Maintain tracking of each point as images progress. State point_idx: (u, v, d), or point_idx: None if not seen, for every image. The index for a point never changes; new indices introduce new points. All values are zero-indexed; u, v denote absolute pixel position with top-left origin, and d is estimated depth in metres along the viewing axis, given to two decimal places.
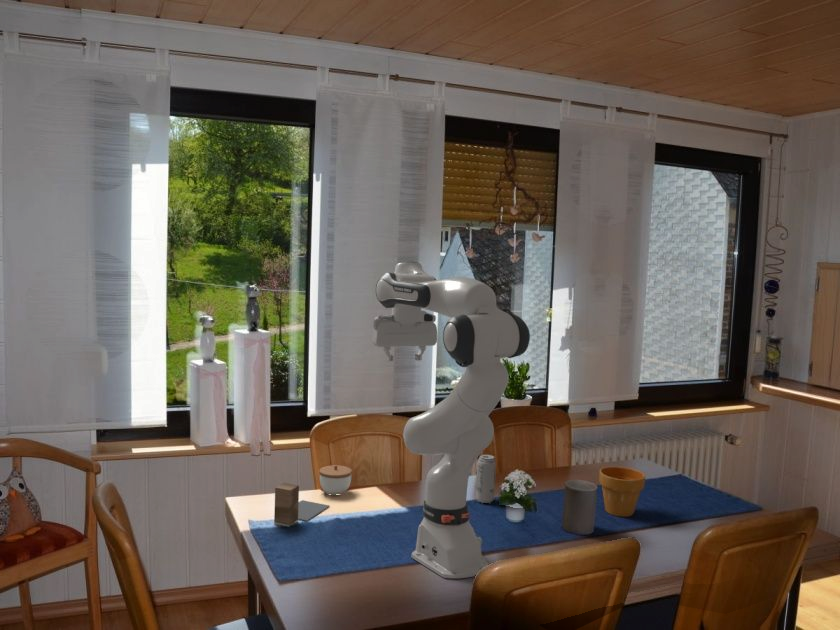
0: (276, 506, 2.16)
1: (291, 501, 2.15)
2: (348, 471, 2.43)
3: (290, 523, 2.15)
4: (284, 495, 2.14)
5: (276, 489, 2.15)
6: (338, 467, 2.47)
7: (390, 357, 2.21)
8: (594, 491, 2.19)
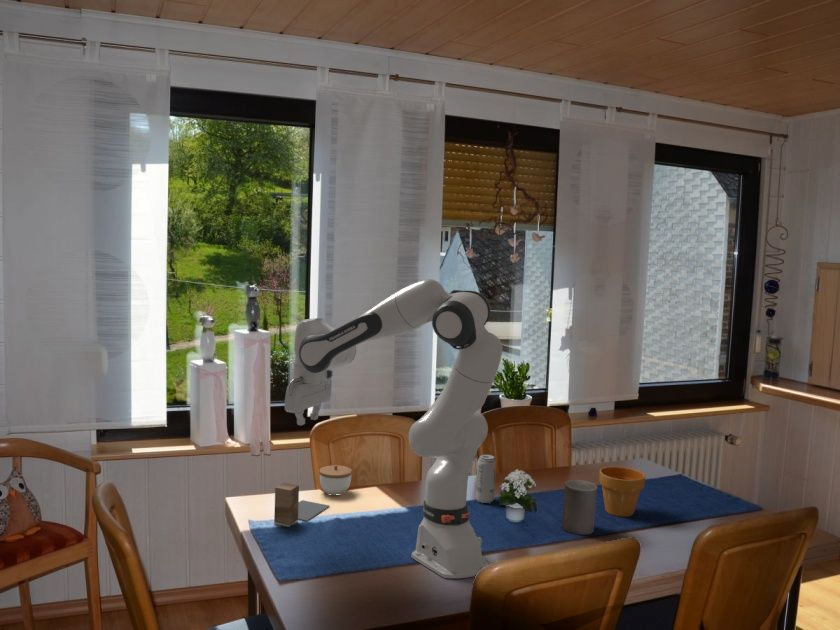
0: (276, 506, 2.16)
1: (291, 501, 2.15)
2: (348, 471, 2.43)
3: (290, 523, 2.15)
4: (284, 495, 2.14)
5: (276, 489, 2.15)
6: (338, 467, 2.47)
7: (303, 420, 2.08)
8: (594, 491, 2.19)
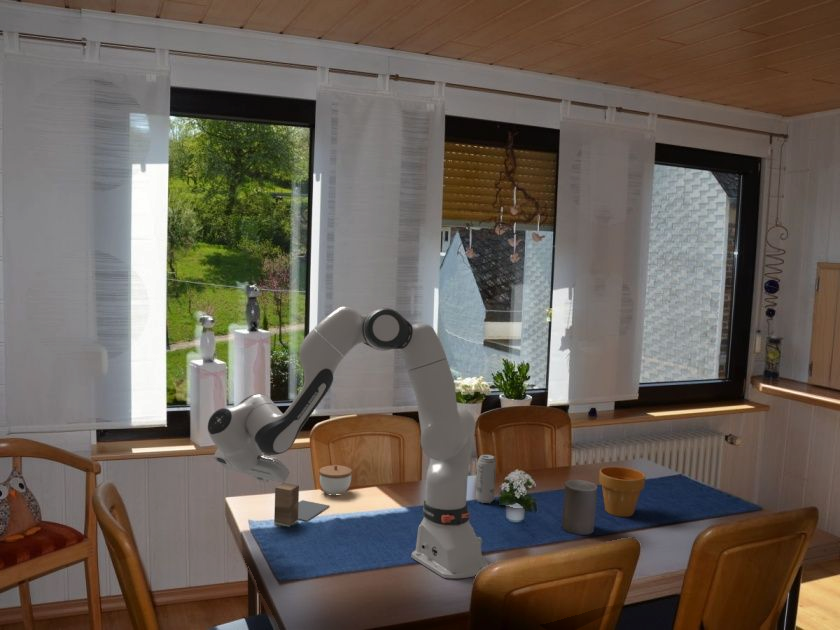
0: (276, 506, 2.16)
1: (291, 501, 2.15)
2: (348, 471, 2.43)
3: (290, 523, 2.15)
4: (284, 495, 2.14)
5: (276, 489, 2.15)
6: (338, 467, 2.47)
7: None
8: (594, 491, 2.19)
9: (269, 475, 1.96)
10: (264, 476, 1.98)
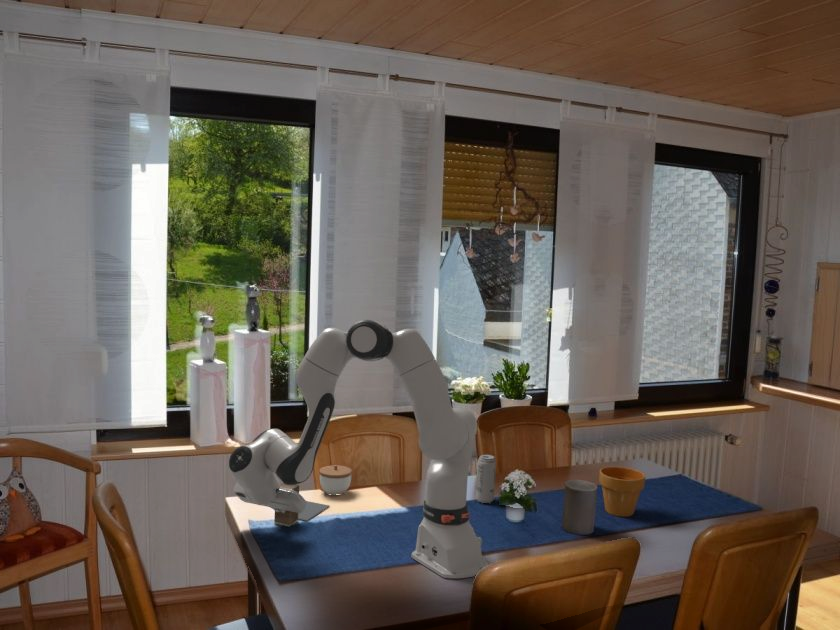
0: None
1: None
2: (348, 471, 2.43)
3: (290, 523, 2.15)
4: None
5: None
6: (338, 467, 2.47)
7: None
8: (594, 491, 2.19)
9: (287, 506, 2.05)
10: (282, 507, 2.07)
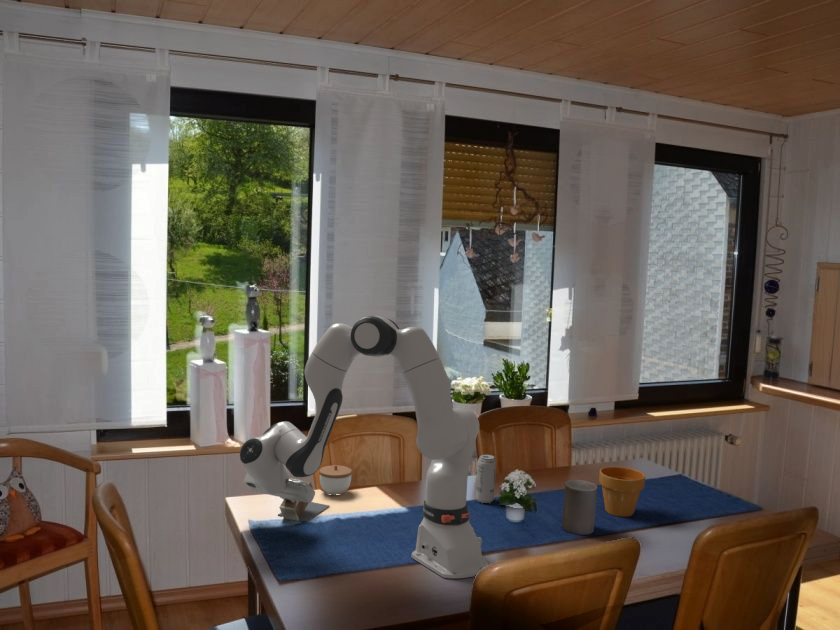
0: None
1: None
2: (348, 471, 2.43)
3: (295, 509, 2.18)
4: None
5: None
6: (338, 467, 2.47)
7: None
8: (594, 491, 2.19)
9: (296, 496, 2.11)
10: (291, 497, 2.12)
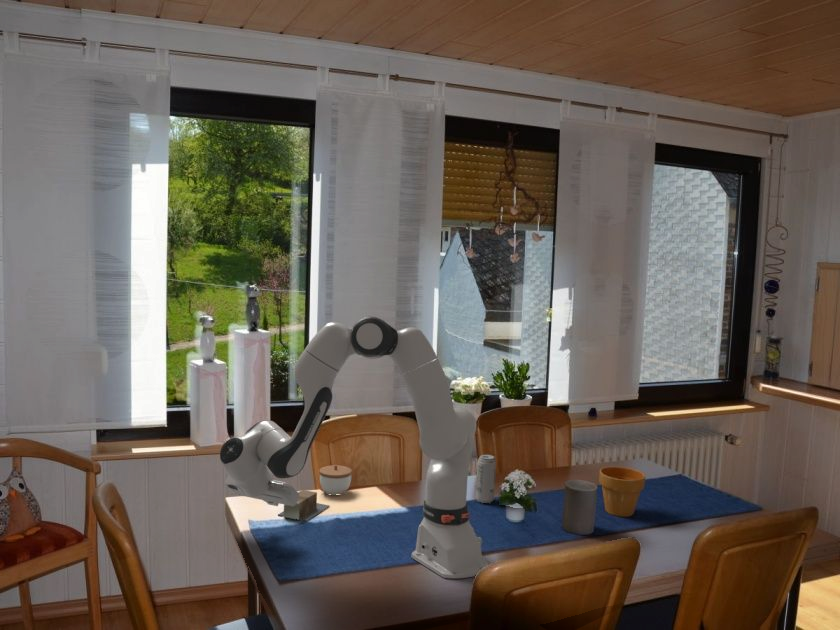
0: None
1: (310, 499, 2.26)
2: (348, 471, 2.43)
3: (299, 505, 2.19)
4: (308, 493, 2.28)
5: (303, 490, 2.30)
6: (338, 467, 2.47)
7: None
8: (594, 491, 2.19)
9: (280, 499, 2.02)
10: (275, 500, 2.04)
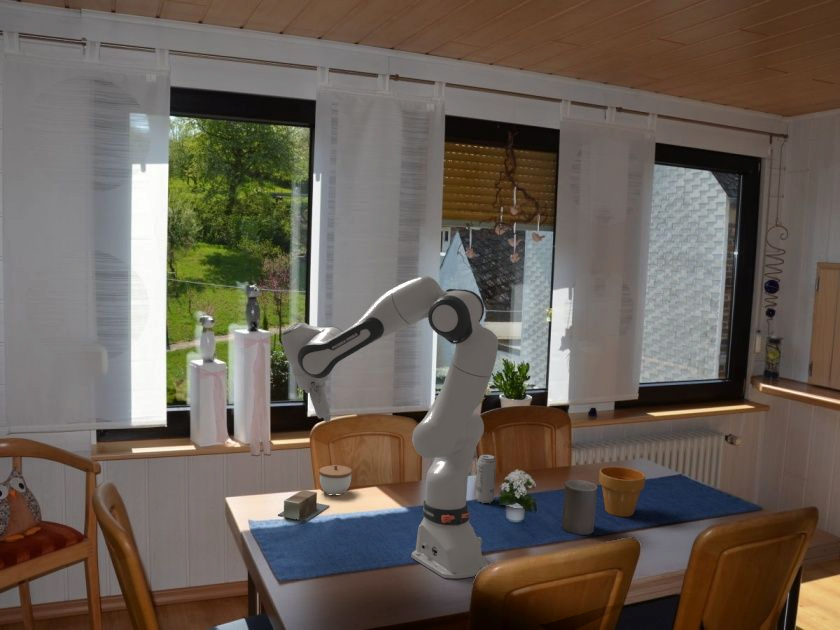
0: (295, 495, 2.25)
1: (310, 499, 2.26)
2: (348, 471, 2.43)
3: (299, 505, 2.19)
4: (308, 493, 2.28)
5: (303, 490, 2.30)
6: (338, 467, 2.47)
7: (329, 415, 2.15)
8: (594, 491, 2.19)
9: None
10: None
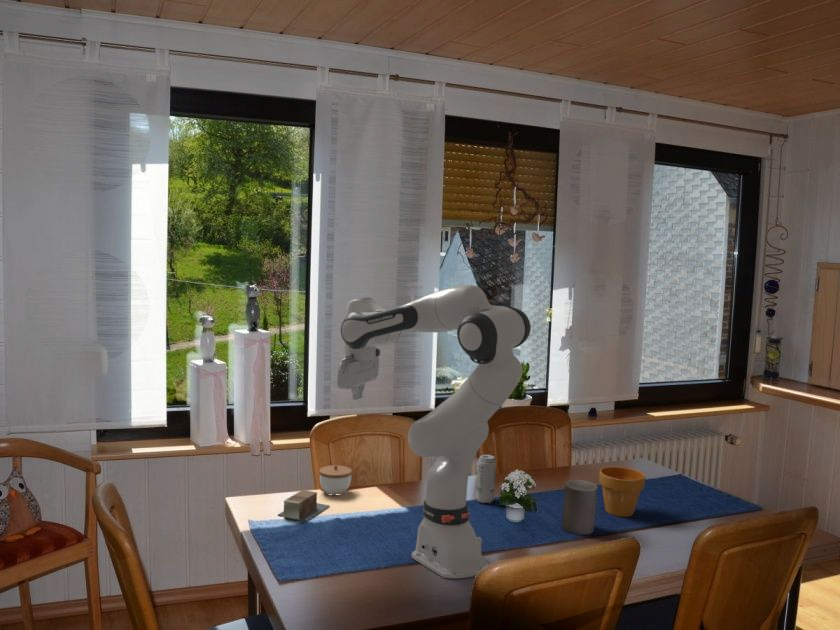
0: (295, 495, 2.25)
1: (310, 499, 2.26)
2: (348, 471, 2.43)
3: (299, 505, 2.19)
4: (308, 493, 2.28)
5: (303, 490, 2.30)
6: (338, 467, 2.47)
7: (358, 395, 2.16)
8: (594, 491, 2.19)
9: None
10: None
